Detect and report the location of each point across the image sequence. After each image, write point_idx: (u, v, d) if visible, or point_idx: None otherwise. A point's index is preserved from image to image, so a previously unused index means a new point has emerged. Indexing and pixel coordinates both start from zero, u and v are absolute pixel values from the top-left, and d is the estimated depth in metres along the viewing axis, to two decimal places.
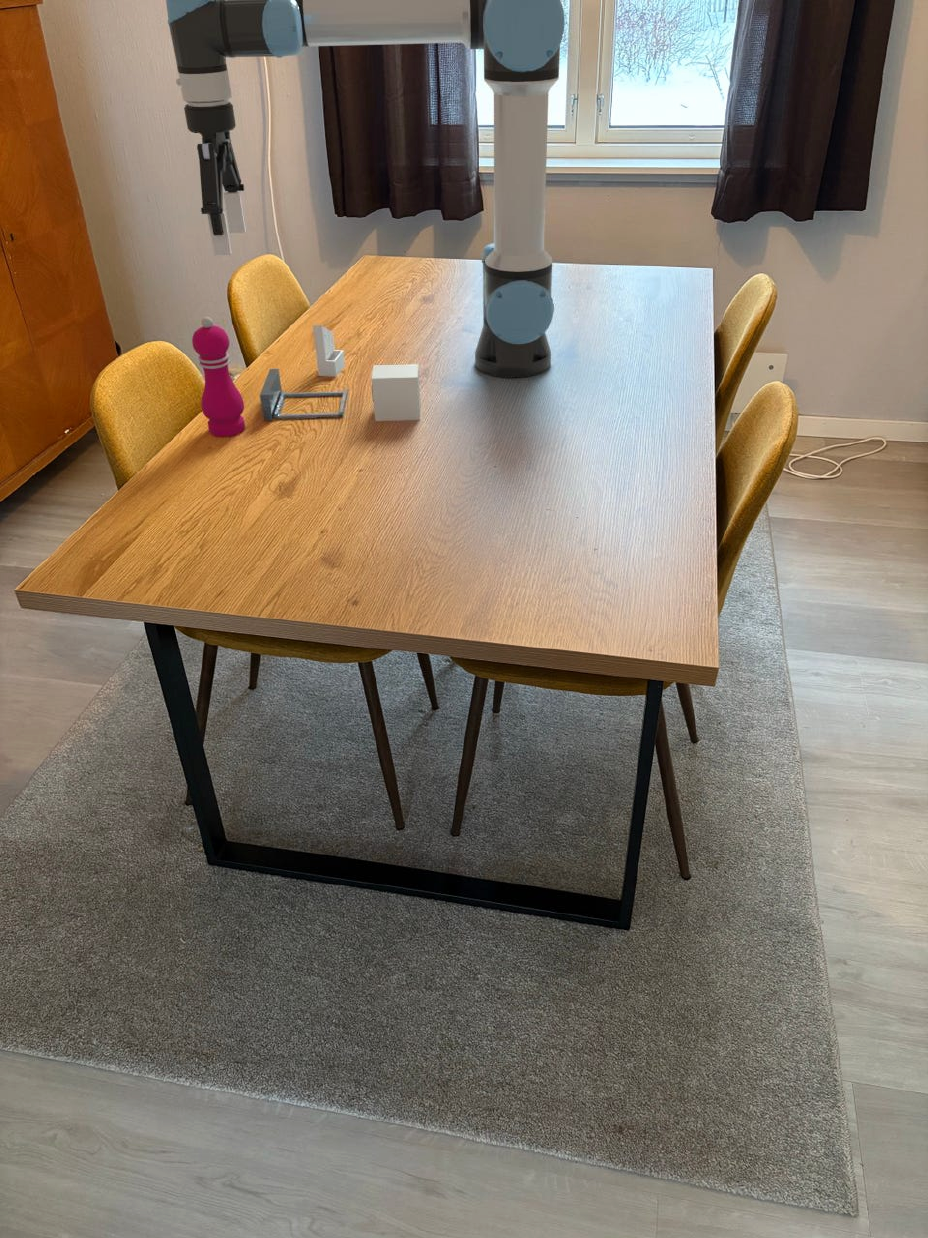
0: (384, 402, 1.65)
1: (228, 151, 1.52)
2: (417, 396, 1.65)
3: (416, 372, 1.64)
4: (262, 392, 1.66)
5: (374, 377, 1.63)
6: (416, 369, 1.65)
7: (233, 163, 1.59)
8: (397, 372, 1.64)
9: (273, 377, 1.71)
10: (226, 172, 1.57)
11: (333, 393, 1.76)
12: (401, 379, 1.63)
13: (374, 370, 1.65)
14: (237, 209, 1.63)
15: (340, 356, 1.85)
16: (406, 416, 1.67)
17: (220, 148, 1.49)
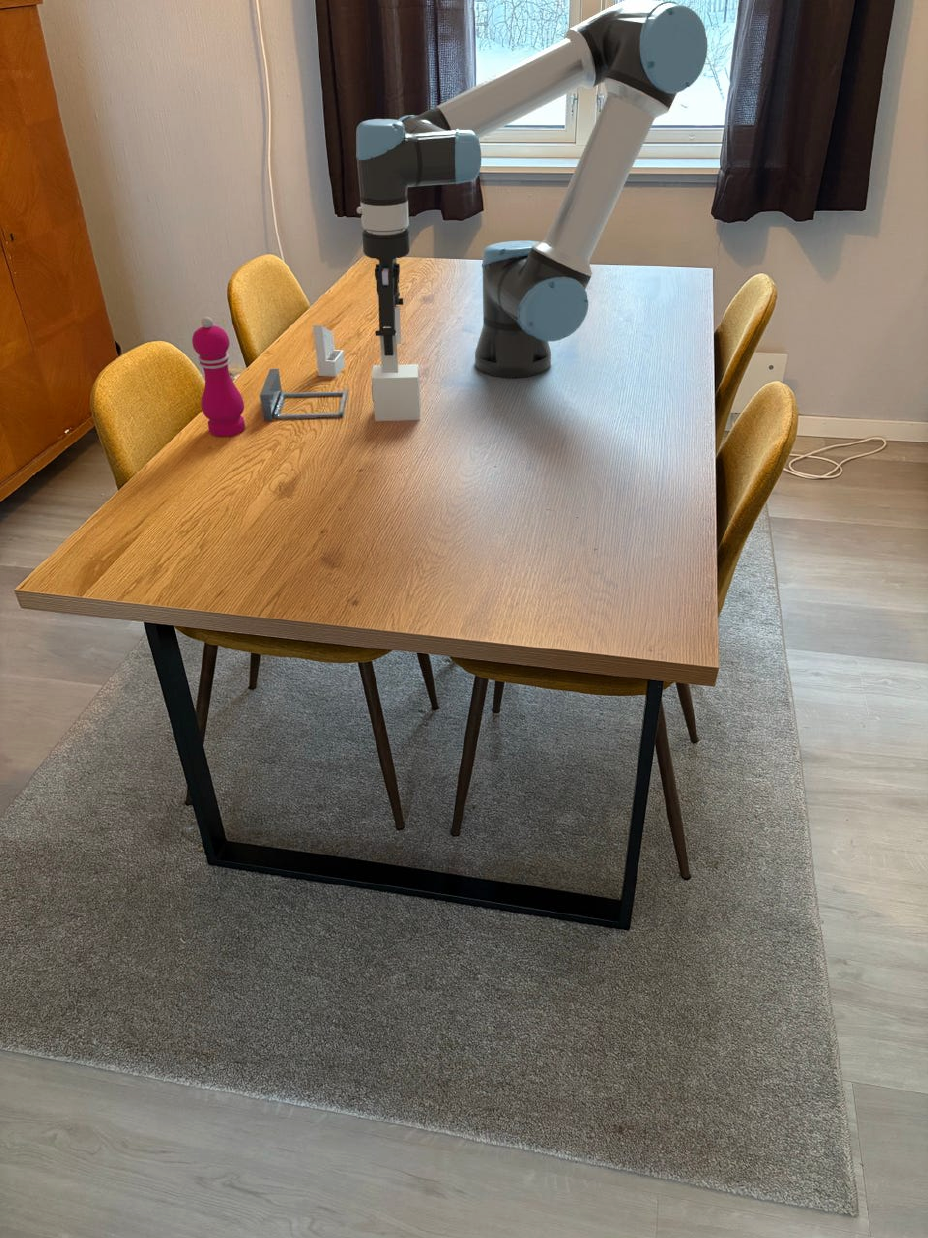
0: (384, 402, 1.65)
1: (398, 273, 1.56)
2: (417, 396, 1.65)
3: (416, 372, 1.64)
4: (262, 392, 1.66)
5: (374, 377, 1.63)
6: (416, 369, 1.65)
7: None
8: None
9: (273, 377, 1.71)
10: None
11: (333, 393, 1.76)
12: (401, 379, 1.63)
13: (374, 370, 1.65)
14: (396, 322, 1.66)
15: (340, 356, 1.85)
16: (406, 416, 1.67)
17: (394, 272, 1.53)
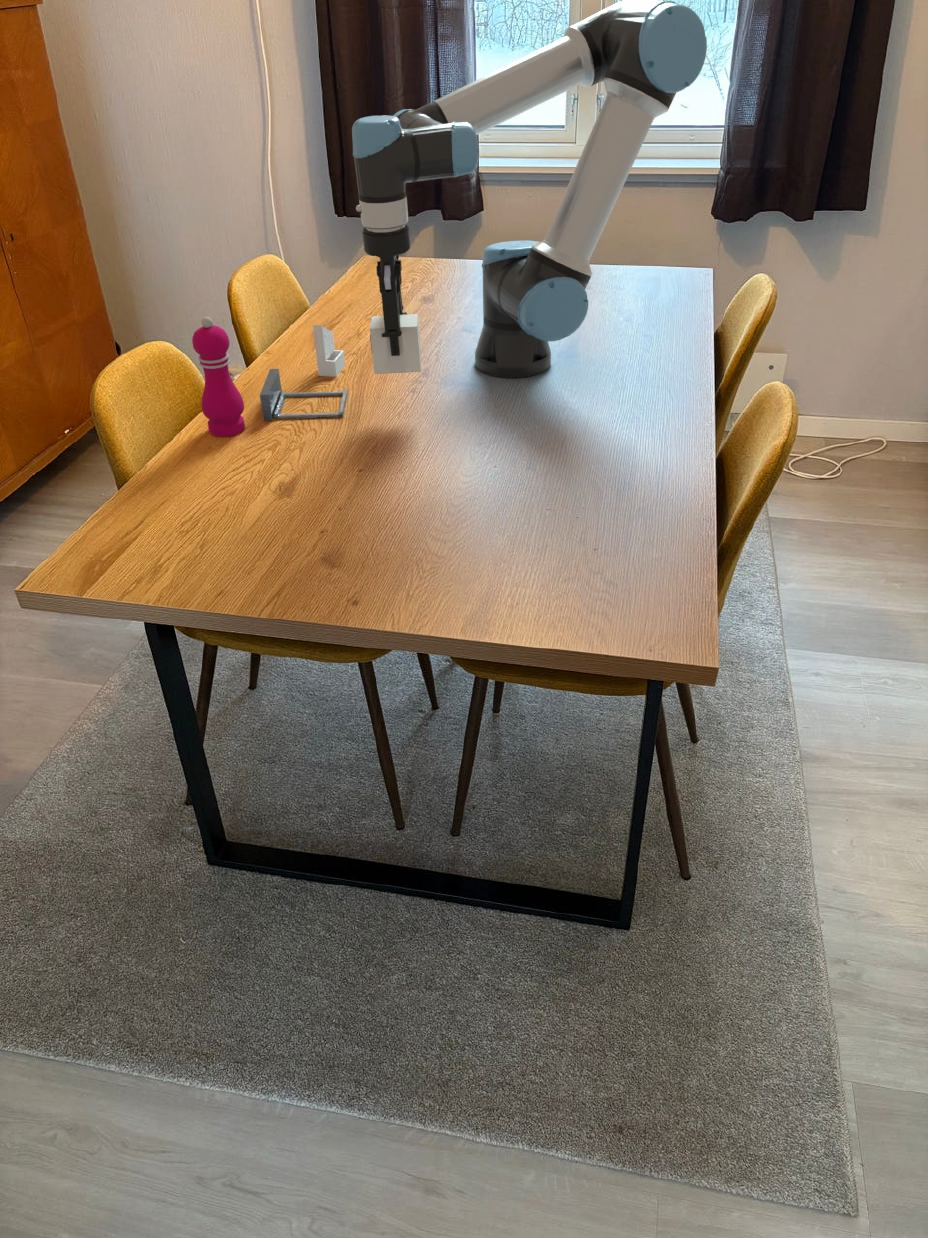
0: (383, 354, 1.60)
1: None
2: (417, 346, 1.59)
3: (415, 322, 1.59)
4: (262, 392, 1.66)
5: (372, 327, 1.58)
6: (416, 319, 1.60)
7: None
8: None
9: (273, 377, 1.71)
10: None
11: (333, 393, 1.76)
12: None
13: (372, 321, 1.60)
14: None
15: (340, 356, 1.85)
16: (406, 368, 1.62)
17: (396, 270, 1.53)
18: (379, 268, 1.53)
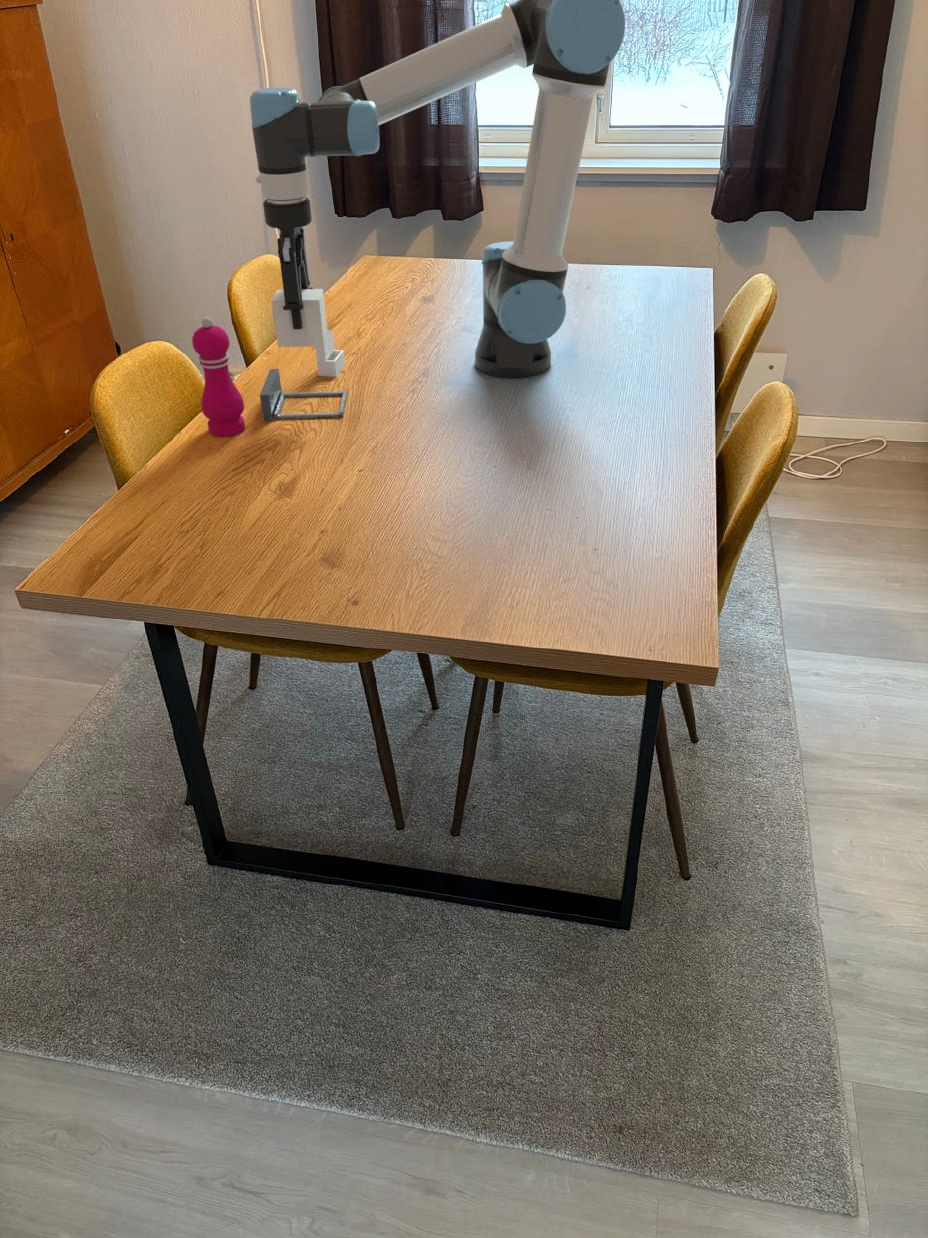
0: (286, 327, 1.61)
1: (302, 243, 1.56)
2: (320, 320, 1.60)
3: (318, 295, 1.60)
4: (262, 392, 1.66)
5: (275, 299, 1.59)
6: (319, 293, 1.61)
7: (304, 262, 1.62)
8: None
9: (273, 377, 1.71)
10: None
11: (333, 393, 1.76)
12: None
13: (276, 294, 1.61)
14: None
15: (340, 356, 1.85)
16: (310, 342, 1.63)
17: (297, 243, 1.54)
18: (280, 240, 1.54)
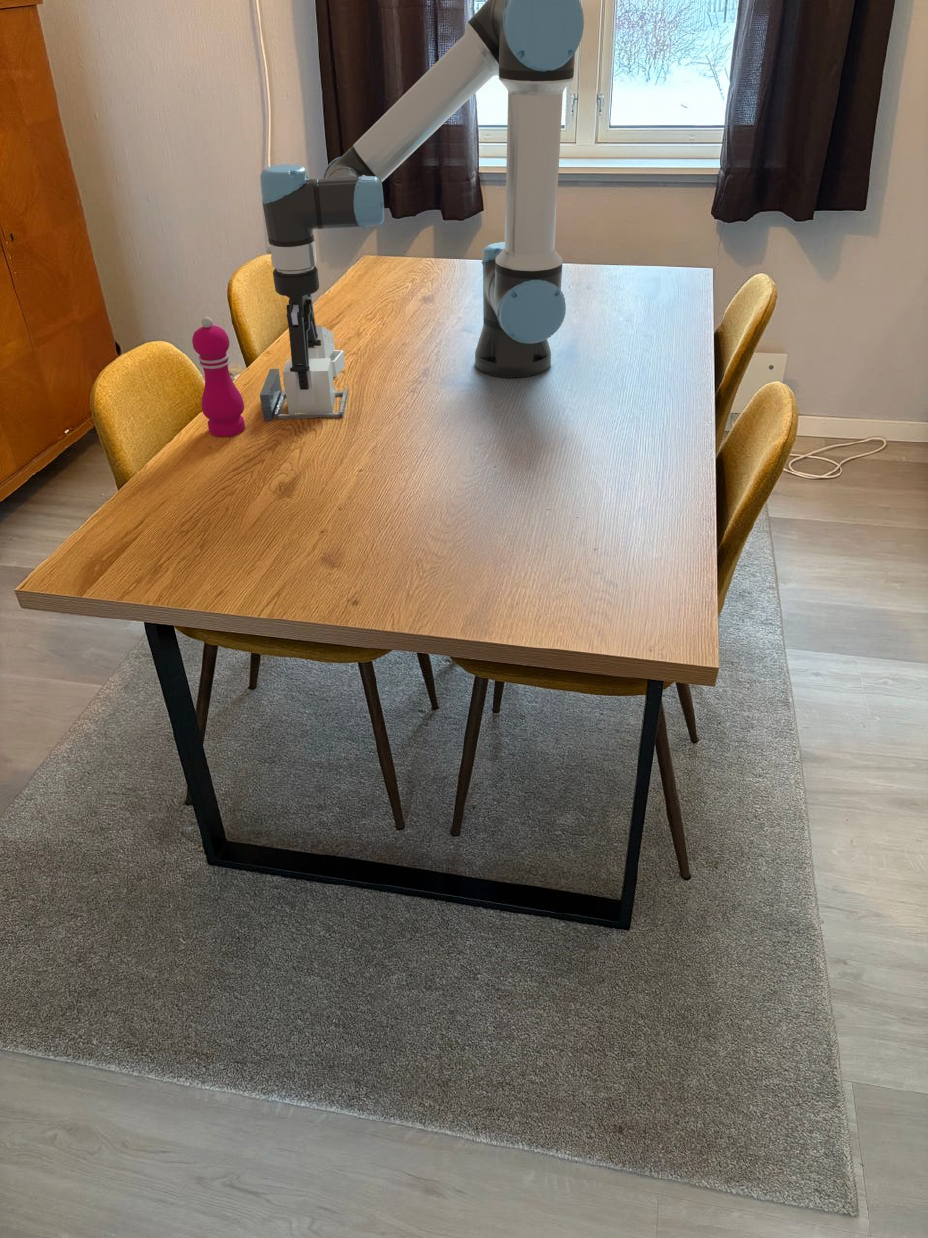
0: (296, 396, 1.68)
1: (311, 308, 1.63)
2: (328, 389, 1.68)
3: (327, 366, 1.67)
4: (262, 392, 1.66)
5: (285, 371, 1.66)
6: (328, 363, 1.69)
7: (312, 319, 1.69)
8: None
9: (273, 377, 1.71)
10: None
11: None
12: (312, 373, 1.66)
13: (286, 364, 1.69)
14: None
15: (340, 356, 1.85)
16: (319, 409, 1.70)
17: (305, 308, 1.60)
18: (289, 306, 1.60)
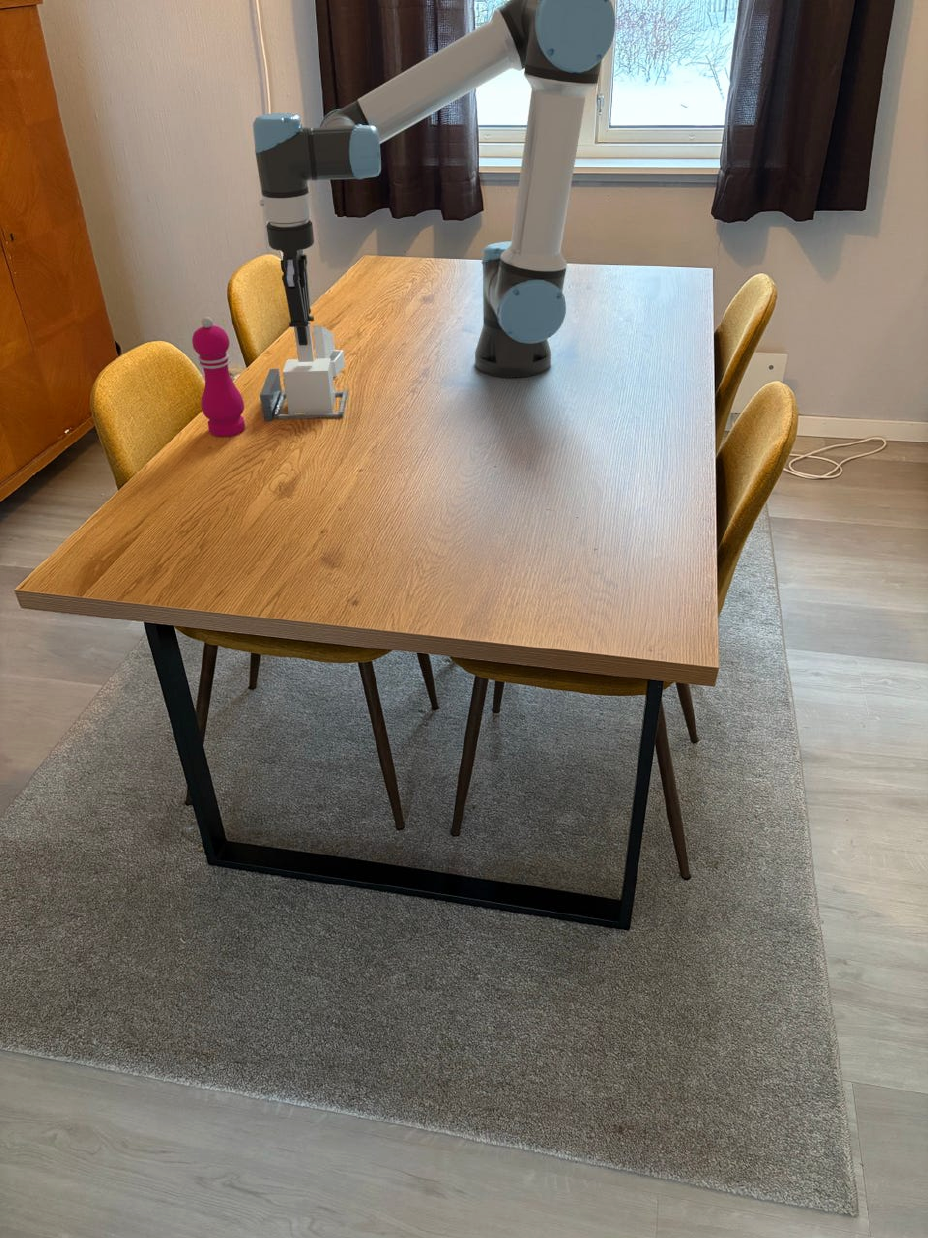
0: (296, 396, 1.68)
1: (305, 263, 1.58)
2: (328, 389, 1.68)
3: (327, 366, 1.67)
4: (262, 392, 1.66)
5: (285, 371, 1.66)
6: (328, 363, 1.69)
7: (306, 287, 1.63)
8: (308, 366, 1.68)
9: (273, 377, 1.71)
10: None
11: None
12: (312, 373, 1.66)
13: (286, 364, 1.69)
14: None
15: (340, 356, 1.85)
16: (319, 409, 1.70)
17: (300, 266, 1.56)
18: (283, 263, 1.56)
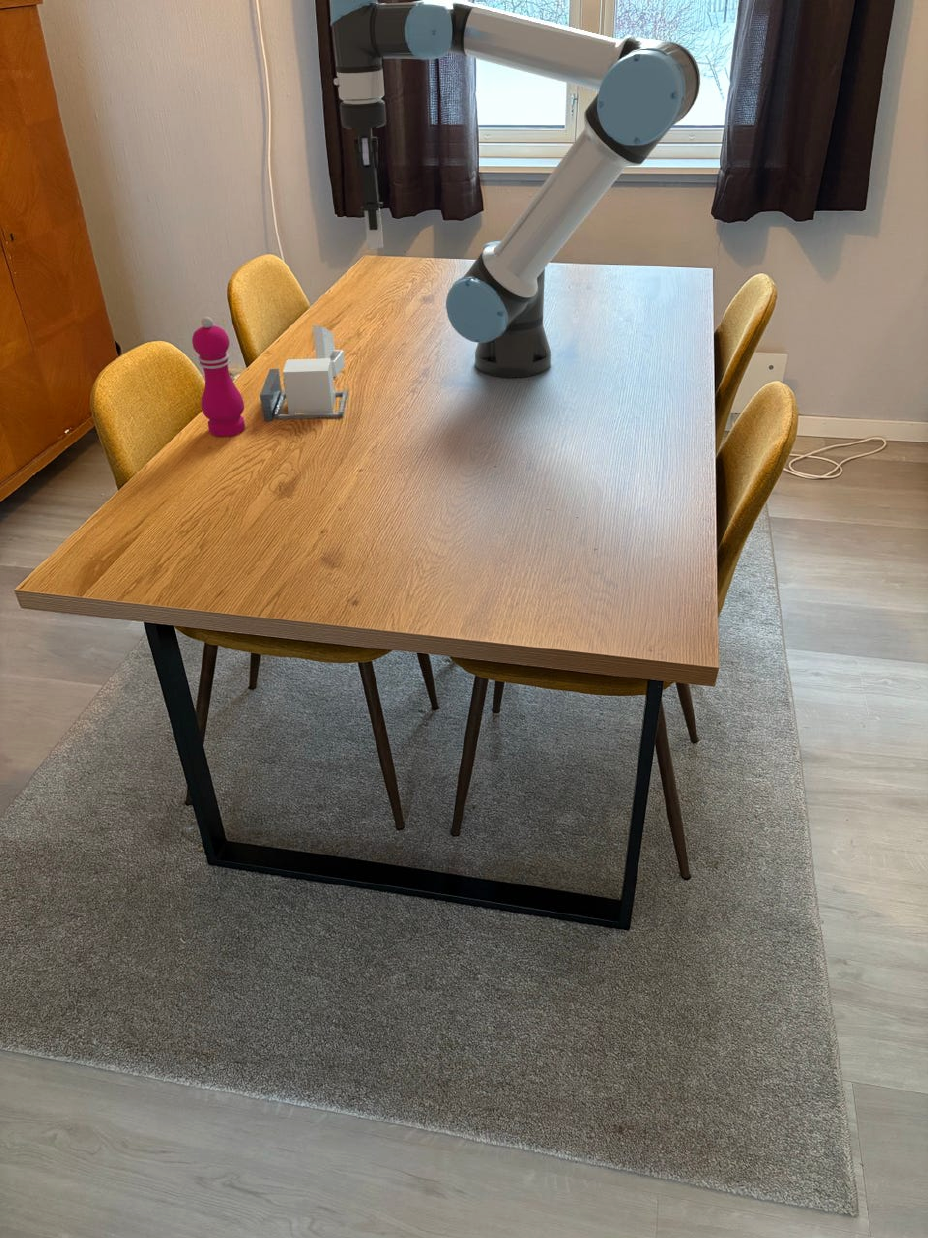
0: (296, 396, 1.68)
1: (376, 145, 1.61)
2: (328, 389, 1.68)
3: (327, 366, 1.67)
4: (262, 392, 1.66)
5: (285, 371, 1.66)
6: (328, 363, 1.69)
7: None
8: (308, 366, 1.68)
9: (273, 377, 1.71)
10: None
11: None
12: (312, 373, 1.66)
13: (286, 364, 1.69)
14: (376, 224, 1.68)
15: (340, 356, 1.85)
16: (319, 409, 1.70)
17: (372, 146, 1.59)
18: (356, 143, 1.59)
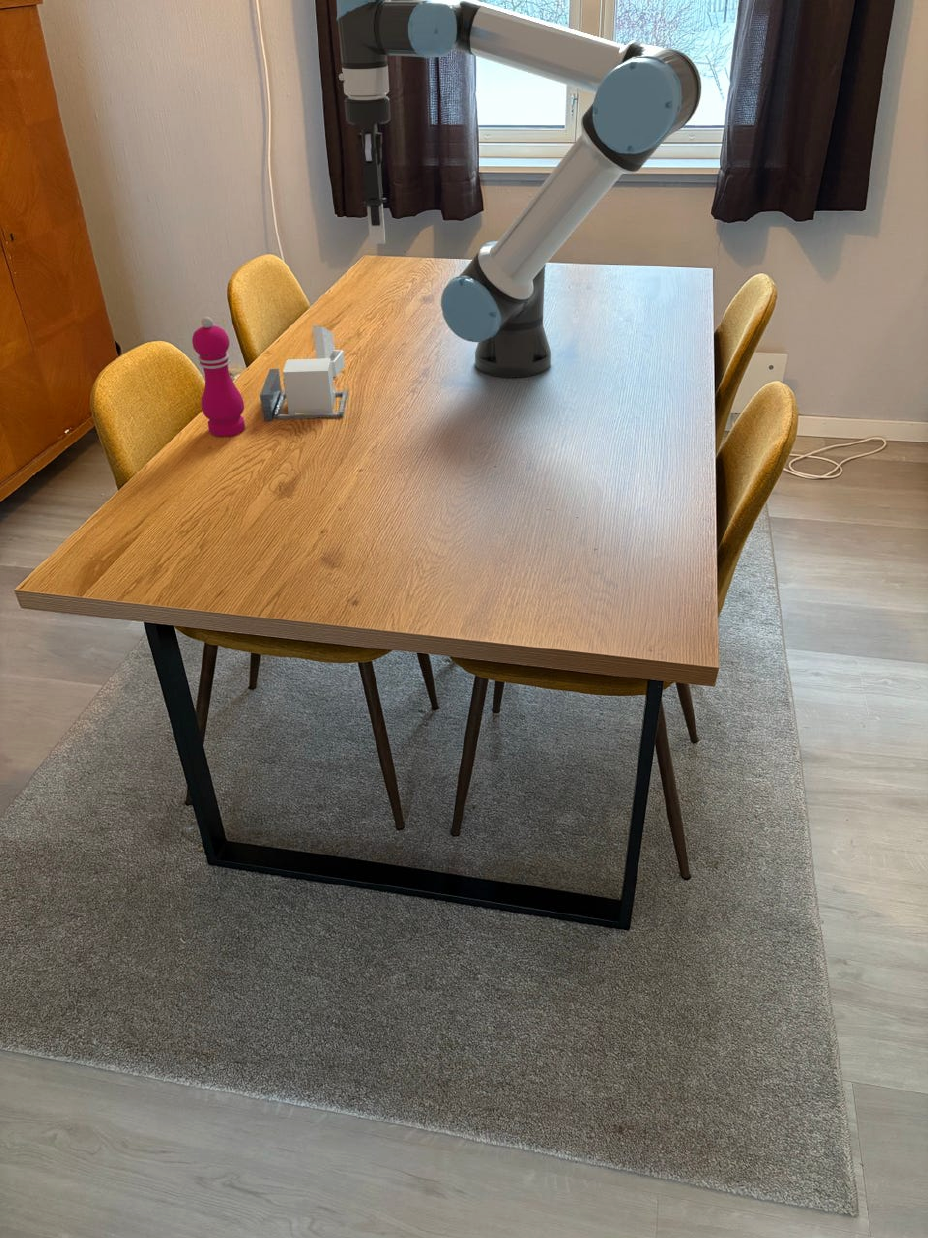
0: (296, 396, 1.68)
1: (380, 141, 1.62)
2: (328, 389, 1.68)
3: (327, 366, 1.67)
4: (262, 392, 1.66)
5: (285, 371, 1.66)
6: (328, 363, 1.69)
7: (379, 168, 1.67)
8: (308, 366, 1.68)
9: (273, 377, 1.71)
10: None
11: None
12: (312, 373, 1.66)
13: (286, 364, 1.69)
14: None
15: (340, 356, 1.85)
16: (319, 409, 1.70)
17: (376, 142, 1.59)
18: (360, 139, 1.59)
